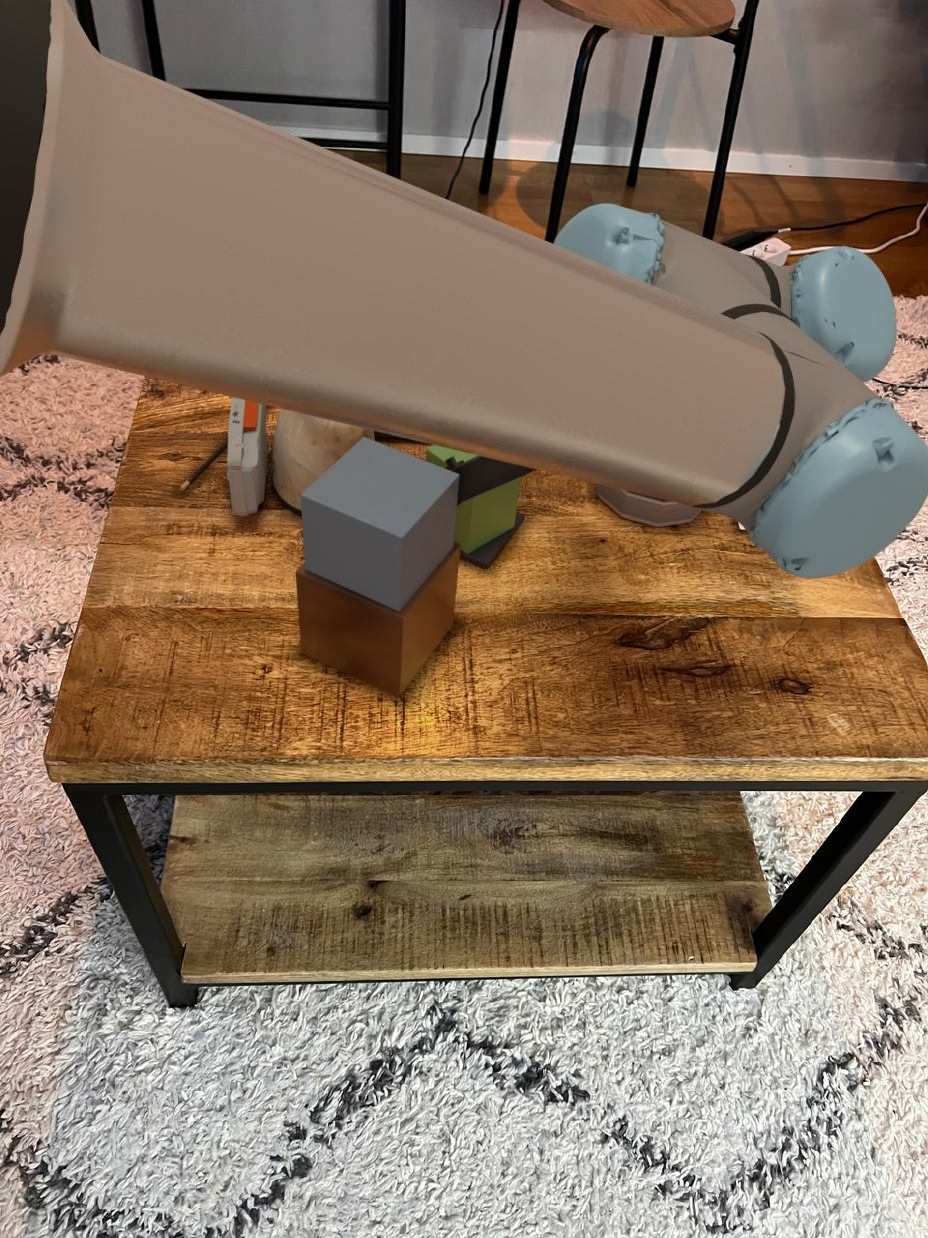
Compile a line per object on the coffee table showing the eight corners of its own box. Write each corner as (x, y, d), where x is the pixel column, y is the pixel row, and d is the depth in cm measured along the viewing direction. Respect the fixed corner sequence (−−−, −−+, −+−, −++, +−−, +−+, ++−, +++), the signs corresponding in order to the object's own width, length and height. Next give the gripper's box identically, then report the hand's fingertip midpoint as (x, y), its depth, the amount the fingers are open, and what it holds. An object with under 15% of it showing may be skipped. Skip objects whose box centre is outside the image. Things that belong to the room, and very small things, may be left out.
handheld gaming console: (240, 433, 95) (232, 362, 89) (270, 433, 95) (264, 363, 89) (231, 530, 85) (221, 457, 79) (265, 529, 85) (257, 457, 79)
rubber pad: (407, 537, 86) (408, 532, 86) (448, 490, 91) (449, 485, 91) (487, 569, 84) (487, 564, 84) (524, 519, 89) (525, 514, 89)
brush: (305, 353, 104) (177, 483, 88) (314, 358, 104) (187, 489, 88) (304, 358, 105) (176, 488, 88) (312, 363, 105) (186, 494, 88)
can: (654, 442, 99) (681, 338, 90) (732, 503, 93) (770, 398, 84) (569, 475, 94) (589, 368, 85) (646, 542, 88) (677, 434, 79)
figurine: (386, 519, 88) (390, 320, 73) (270, 522, 86) (250, 319, 72) (378, 443, 96) (380, 249, 81) (272, 444, 94) (255, 247, 80)
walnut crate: (300, 653, 76) (295, 571, 69) (359, 585, 81) (359, 503, 75) (399, 698, 73) (403, 617, 67) (453, 625, 79) (461, 544, 73)
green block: (514, 527, 87) (525, 456, 82) (466, 554, 84) (474, 483, 79) (469, 494, 90) (476, 423, 84) (421, 519, 87) (426, 448, 81)
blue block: (304, 569, 69) (300, 494, 64) (363, 510, 74) (363, 436, 69) (399, 612, 67) (402, 537, 62) (453, 547, 72) (460, 474, 67)
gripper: (558, 518, 58) (391, 566, 75) (785, 382, 71) (596, 450, 88) (506, 403, 56) (348, 479, 74) (747, 286, 69) (563, 374, 87)
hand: (483, 463), depth 81 cm, fingers open, 13 cm apart
